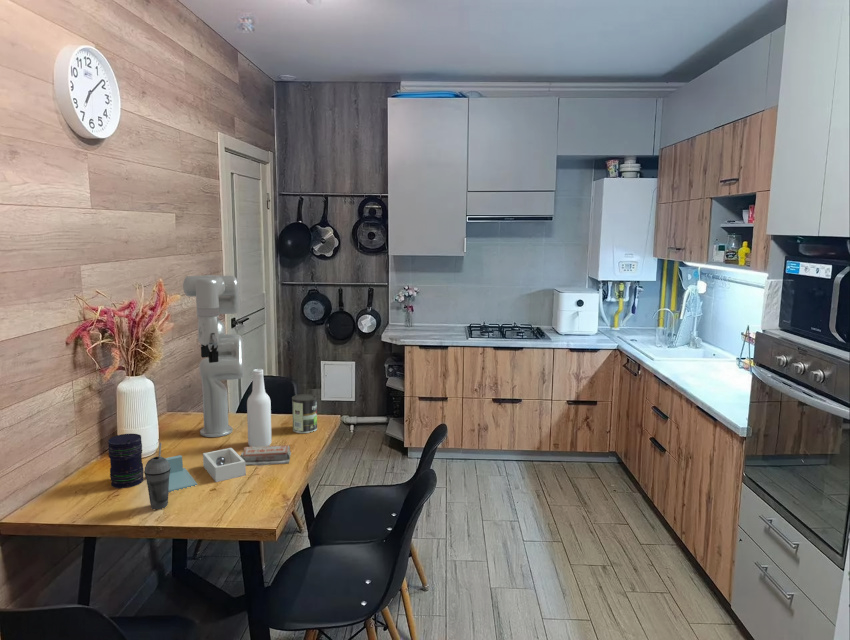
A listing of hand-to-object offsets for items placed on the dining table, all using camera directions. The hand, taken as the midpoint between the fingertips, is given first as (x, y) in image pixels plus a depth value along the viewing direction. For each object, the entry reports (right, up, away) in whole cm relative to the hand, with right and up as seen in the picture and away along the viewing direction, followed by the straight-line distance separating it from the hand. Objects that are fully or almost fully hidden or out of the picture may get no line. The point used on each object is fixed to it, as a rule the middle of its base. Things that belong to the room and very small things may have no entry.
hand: (209, 359), depth 210 cm
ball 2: (+7, -36, -9) cm, 38 cm away
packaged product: (+19, -37, +3) cm, 42 cm away
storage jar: (-20, -39, -18) cm, 48 cm away
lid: (-5, -40, -17) cm, 43 cm away
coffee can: (+27, -32, +35) cm, 55 cm away
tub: (+8, -38, -8) cm, 40 cm away
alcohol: (+13, -35, +17) cm, 41 cm away
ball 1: (+6, -35, -5) cm, 36 cm away
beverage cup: (-2, -42, -34) cm, 55 cm away
